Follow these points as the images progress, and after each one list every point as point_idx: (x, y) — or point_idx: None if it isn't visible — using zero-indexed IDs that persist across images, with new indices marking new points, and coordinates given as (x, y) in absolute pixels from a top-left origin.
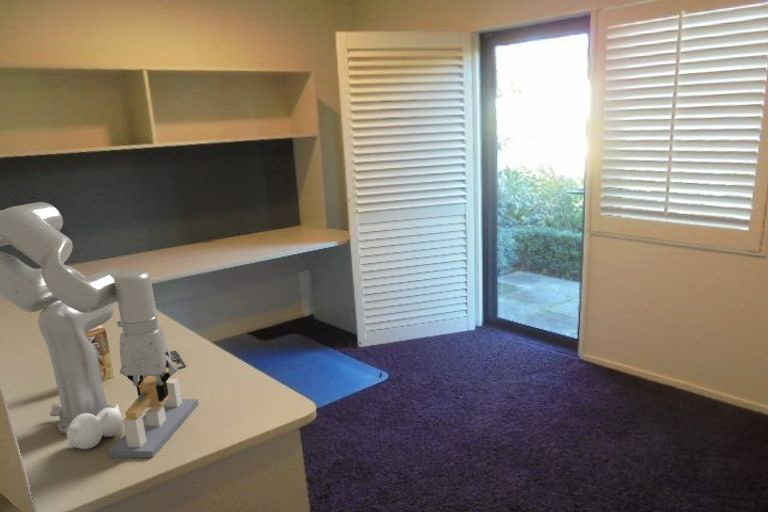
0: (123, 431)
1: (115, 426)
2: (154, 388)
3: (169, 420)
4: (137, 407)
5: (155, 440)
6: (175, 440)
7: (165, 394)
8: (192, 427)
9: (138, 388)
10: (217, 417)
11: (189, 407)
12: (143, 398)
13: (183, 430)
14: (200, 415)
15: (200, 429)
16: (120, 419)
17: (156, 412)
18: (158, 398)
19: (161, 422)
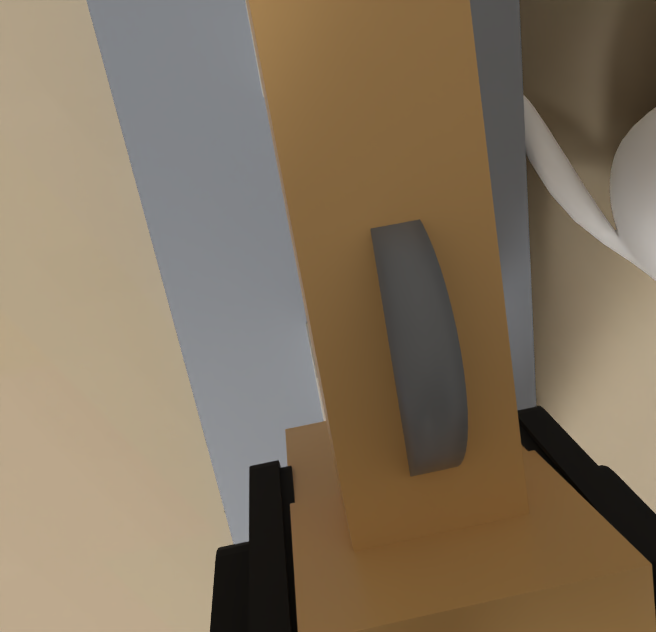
0: (565, 180)
1: (646, 138)
2: (322, 592)
3: (285, 412)
4: (310, 52)
5: (180, 116)
6: (93, 229)
7: (217, 568)
8: (96, 411)
9: (638, 532)
10: (8, 555)
11: None
12: (382, 329)
13: (137, 362)
14: (157, 547)
15: (10, 402)
16: (650, 216)
17: None
18: (287, 485)
19: (312, 360)
